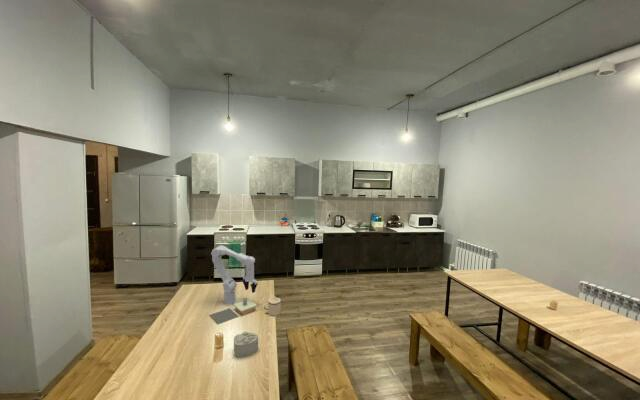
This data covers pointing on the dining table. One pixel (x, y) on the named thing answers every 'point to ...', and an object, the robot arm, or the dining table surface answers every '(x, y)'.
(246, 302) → the lid
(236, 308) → the dish
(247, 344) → the lumpy-topped squat cylinder
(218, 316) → the mat
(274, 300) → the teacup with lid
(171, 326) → the dining table surface
